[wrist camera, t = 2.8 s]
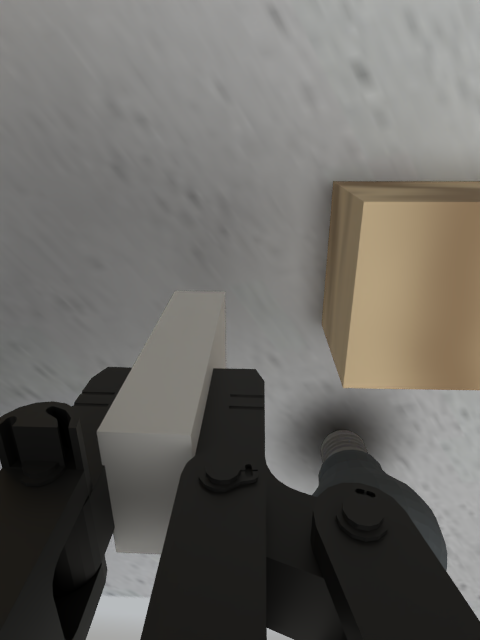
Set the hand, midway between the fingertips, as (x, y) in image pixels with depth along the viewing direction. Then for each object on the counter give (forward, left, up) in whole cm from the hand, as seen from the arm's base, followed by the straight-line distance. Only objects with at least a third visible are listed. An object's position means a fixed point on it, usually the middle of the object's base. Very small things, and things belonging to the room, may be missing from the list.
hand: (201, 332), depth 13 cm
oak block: (+9, 0, -8) cm, 12 cm away
